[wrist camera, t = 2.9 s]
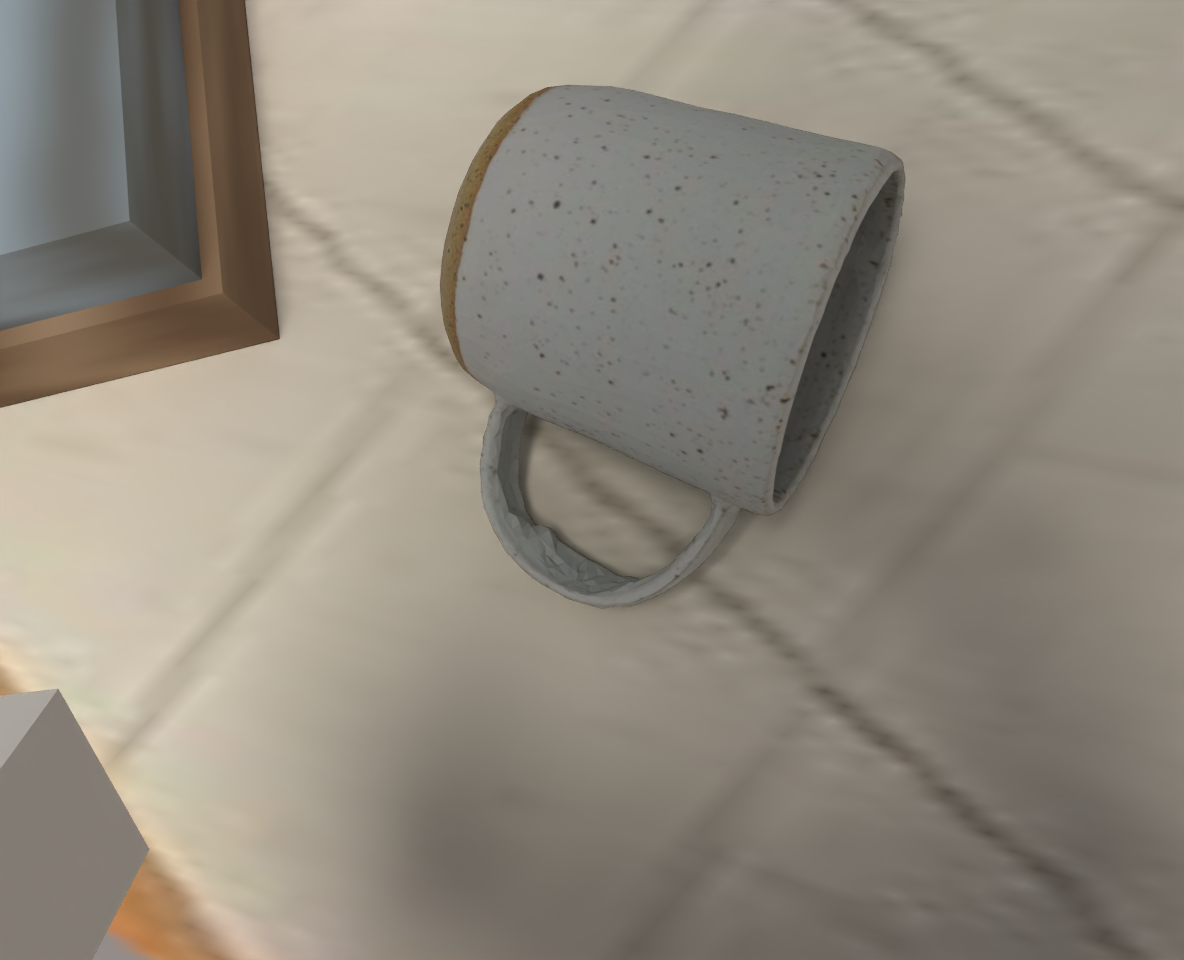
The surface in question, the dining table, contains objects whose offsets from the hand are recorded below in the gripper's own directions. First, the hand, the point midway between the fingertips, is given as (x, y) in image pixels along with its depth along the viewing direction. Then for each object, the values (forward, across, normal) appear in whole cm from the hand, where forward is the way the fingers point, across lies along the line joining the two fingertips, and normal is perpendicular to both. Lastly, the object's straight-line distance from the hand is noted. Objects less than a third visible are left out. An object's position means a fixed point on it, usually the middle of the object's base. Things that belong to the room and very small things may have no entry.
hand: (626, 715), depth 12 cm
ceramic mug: (+15, 0, -4) cm, 15 cm away
